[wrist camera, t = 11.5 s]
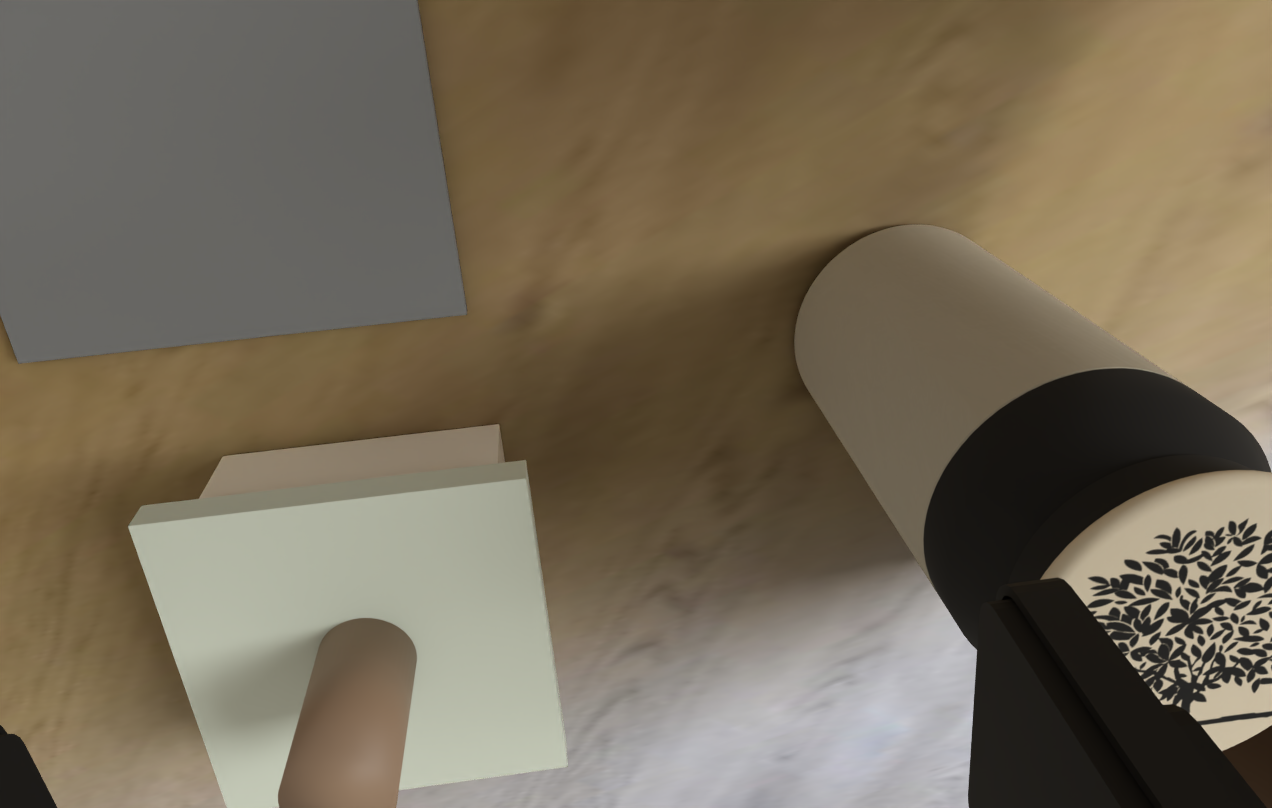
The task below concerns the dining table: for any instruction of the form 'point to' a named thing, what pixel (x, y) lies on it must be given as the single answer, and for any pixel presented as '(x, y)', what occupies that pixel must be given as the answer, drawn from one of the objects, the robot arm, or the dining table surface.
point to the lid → (360, 634)
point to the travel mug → (1048, 463)
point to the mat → (217, 173)
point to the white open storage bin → (355, 460)
